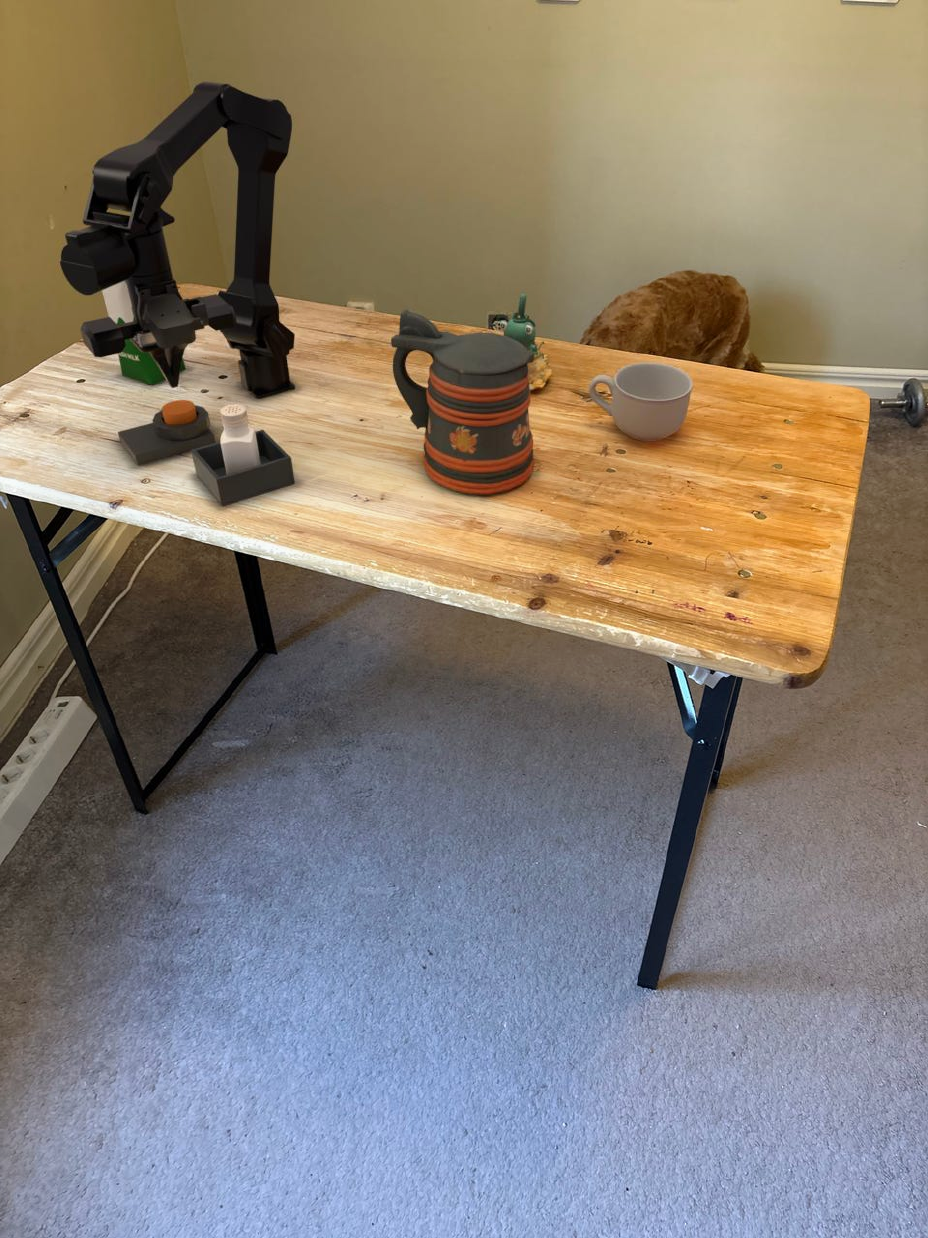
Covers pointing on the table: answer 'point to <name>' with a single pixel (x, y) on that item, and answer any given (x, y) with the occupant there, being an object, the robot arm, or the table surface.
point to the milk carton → (131, 357)
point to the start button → (179, 412)
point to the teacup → (646, 399)
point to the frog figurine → (527, 344)
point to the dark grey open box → (243, 471)
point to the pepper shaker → (238, 440)
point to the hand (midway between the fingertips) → (173, 386)
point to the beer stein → (468, 406)
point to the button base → (166, 438)
